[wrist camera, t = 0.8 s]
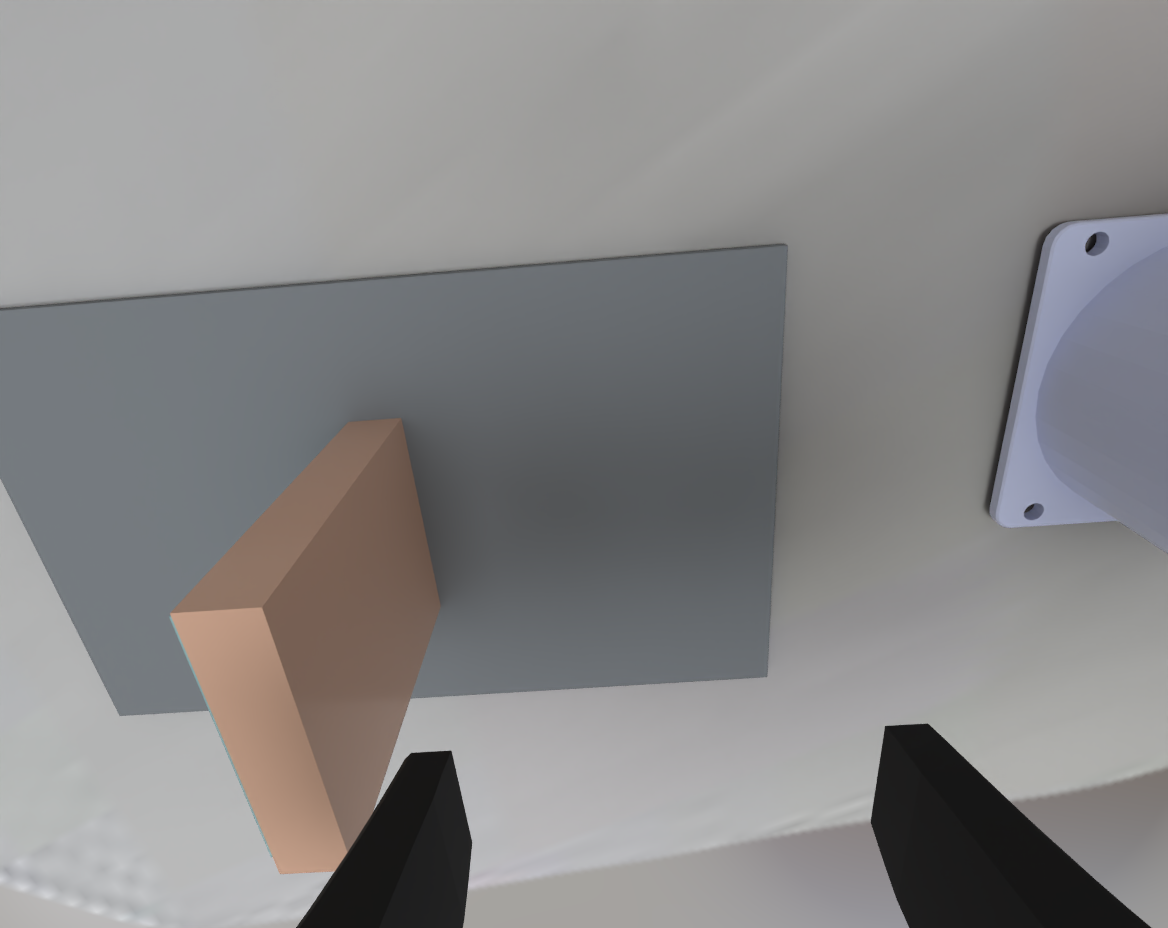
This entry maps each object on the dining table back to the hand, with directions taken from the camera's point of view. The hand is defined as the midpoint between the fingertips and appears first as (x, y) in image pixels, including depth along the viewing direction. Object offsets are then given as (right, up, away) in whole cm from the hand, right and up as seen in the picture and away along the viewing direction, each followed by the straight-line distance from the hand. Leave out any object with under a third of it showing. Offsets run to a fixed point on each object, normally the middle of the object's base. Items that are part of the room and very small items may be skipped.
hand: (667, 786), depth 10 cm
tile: (-7, +3, +8) cm, 11 cm away
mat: (-7, +3, +9) cm, 11 cm away
